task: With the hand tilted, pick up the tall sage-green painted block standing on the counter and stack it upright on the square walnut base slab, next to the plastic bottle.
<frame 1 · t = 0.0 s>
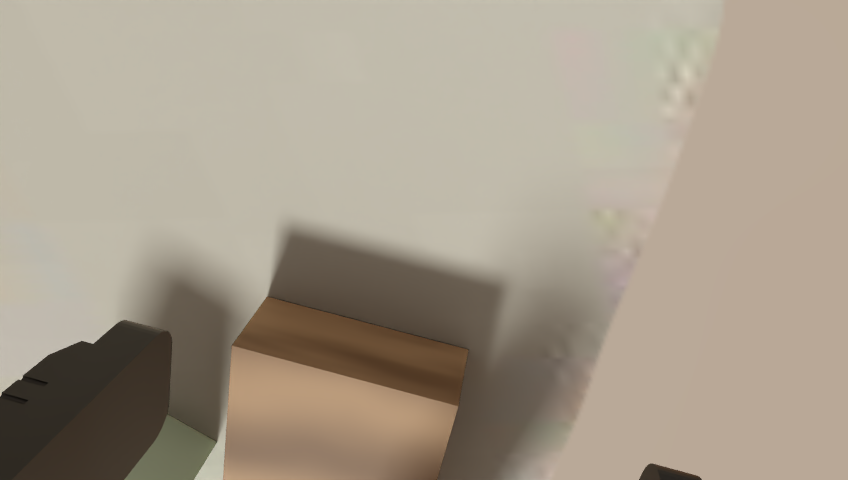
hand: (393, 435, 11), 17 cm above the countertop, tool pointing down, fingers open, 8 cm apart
base: (352, 400, 33), on the countertop
block: (168, 445, 37), on the countertop
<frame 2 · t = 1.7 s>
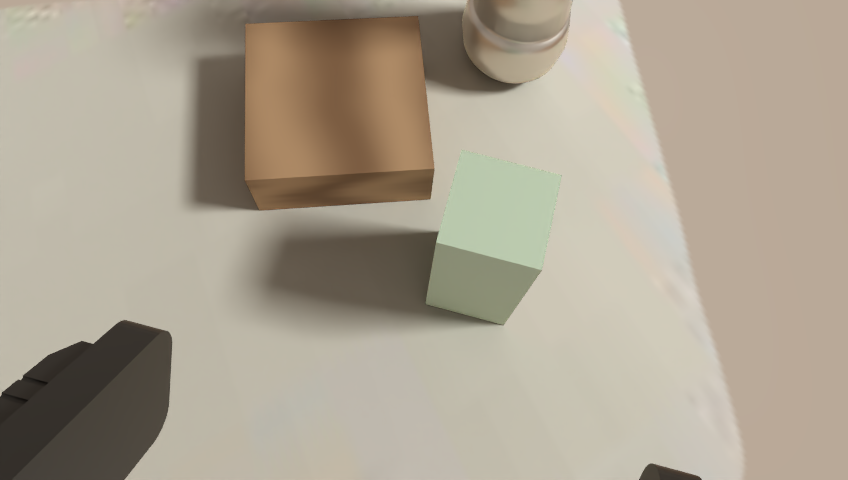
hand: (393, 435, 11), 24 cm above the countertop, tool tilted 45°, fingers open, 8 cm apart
base: (341, 130, 40), on the countertop
block: (473, 277, 37), on the countertop
plastic bottle: (507, 55, 43), on the countertop
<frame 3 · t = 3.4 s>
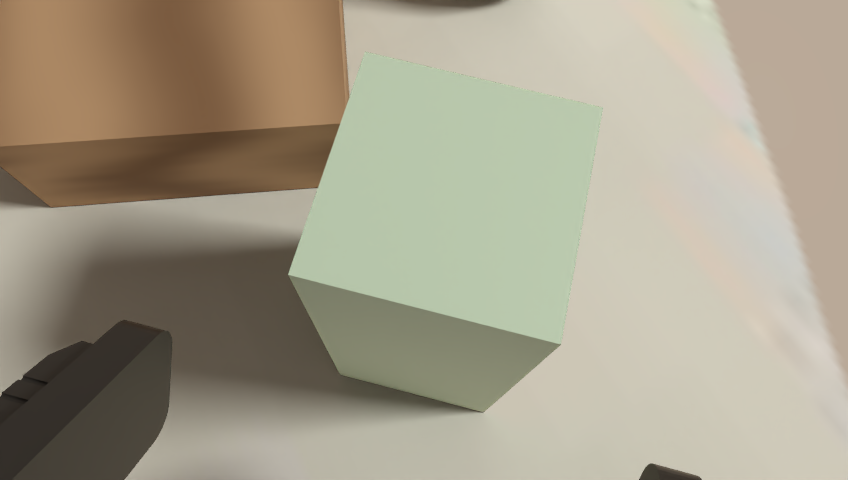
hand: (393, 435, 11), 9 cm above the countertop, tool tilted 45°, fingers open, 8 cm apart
base: (208, 70, 23), on the countertop
block: (429, 323, 21), on the countertop
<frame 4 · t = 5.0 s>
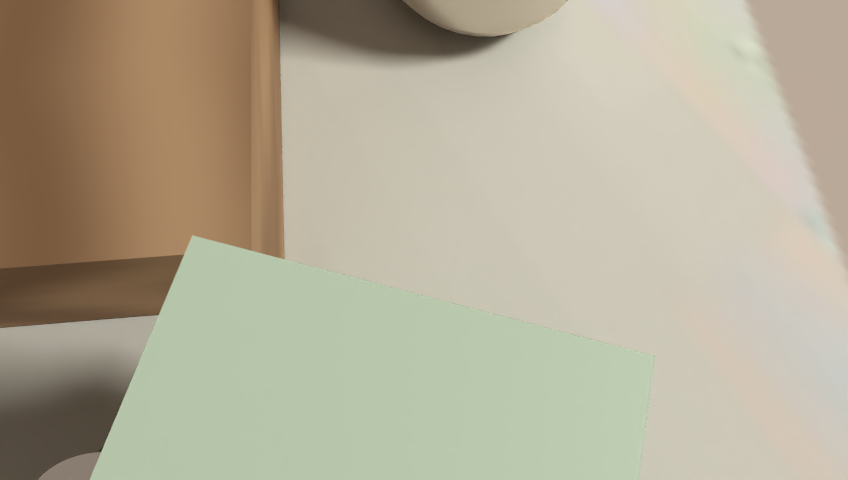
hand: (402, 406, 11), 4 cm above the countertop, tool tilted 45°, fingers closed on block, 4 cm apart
base: (95, 141, 18), on the countertop
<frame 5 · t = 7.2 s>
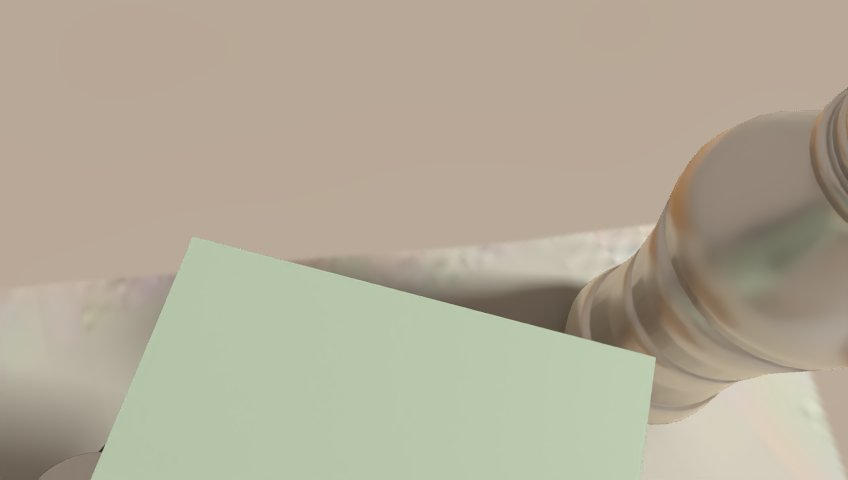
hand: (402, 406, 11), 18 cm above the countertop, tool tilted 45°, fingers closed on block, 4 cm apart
plastic bottle: (622, 355, 30), on the countertop
when the fingers open (9 cm above the countertop, at t = 9.4 s): block stays where it is, resting on base.
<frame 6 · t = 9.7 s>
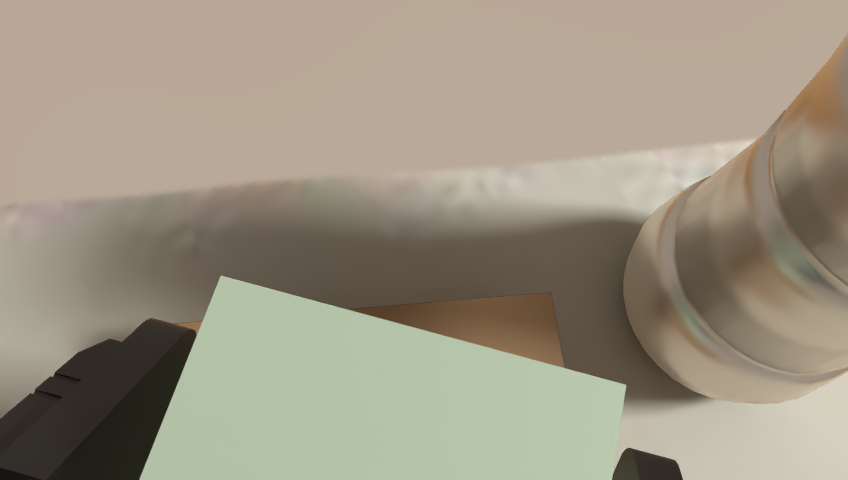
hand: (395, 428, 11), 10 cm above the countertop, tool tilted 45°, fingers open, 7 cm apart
plastic bottle: (698, 312, 22), on the countertop
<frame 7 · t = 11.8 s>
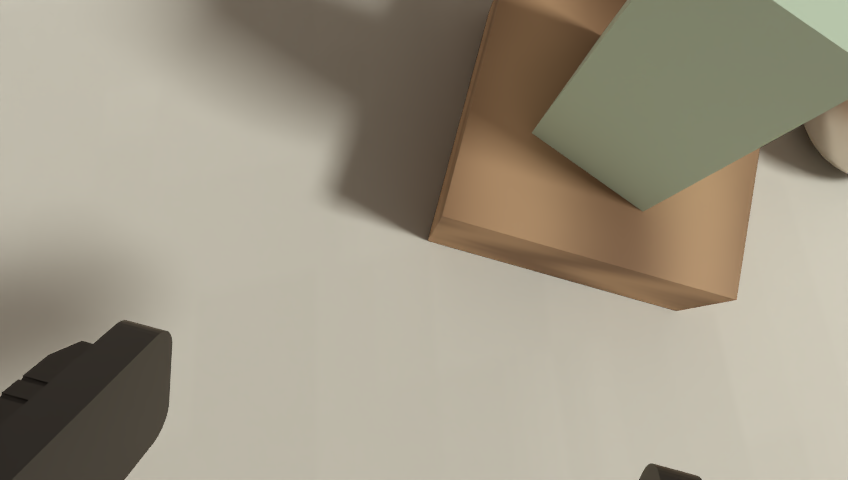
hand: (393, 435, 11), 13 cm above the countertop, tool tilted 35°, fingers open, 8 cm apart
base: (579, 156, 26), on the countertop
block: (621, 121, 22), point 4 cm above the countertop, touching base
plastic bottle: (845, 122, 28), on the countertop
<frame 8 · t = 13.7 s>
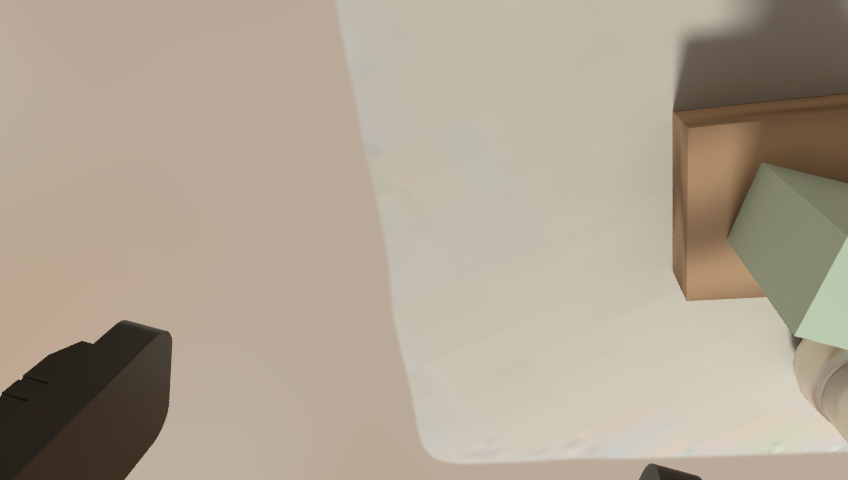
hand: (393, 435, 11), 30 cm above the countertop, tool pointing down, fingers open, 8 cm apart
base: (763, 187, 38), on the countertop
block: (786, 212, 34), point 4 cm above the countertop, touching base
plastic bottle: (838, 345, 41), on the countertop
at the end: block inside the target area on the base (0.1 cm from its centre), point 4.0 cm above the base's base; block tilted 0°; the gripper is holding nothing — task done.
